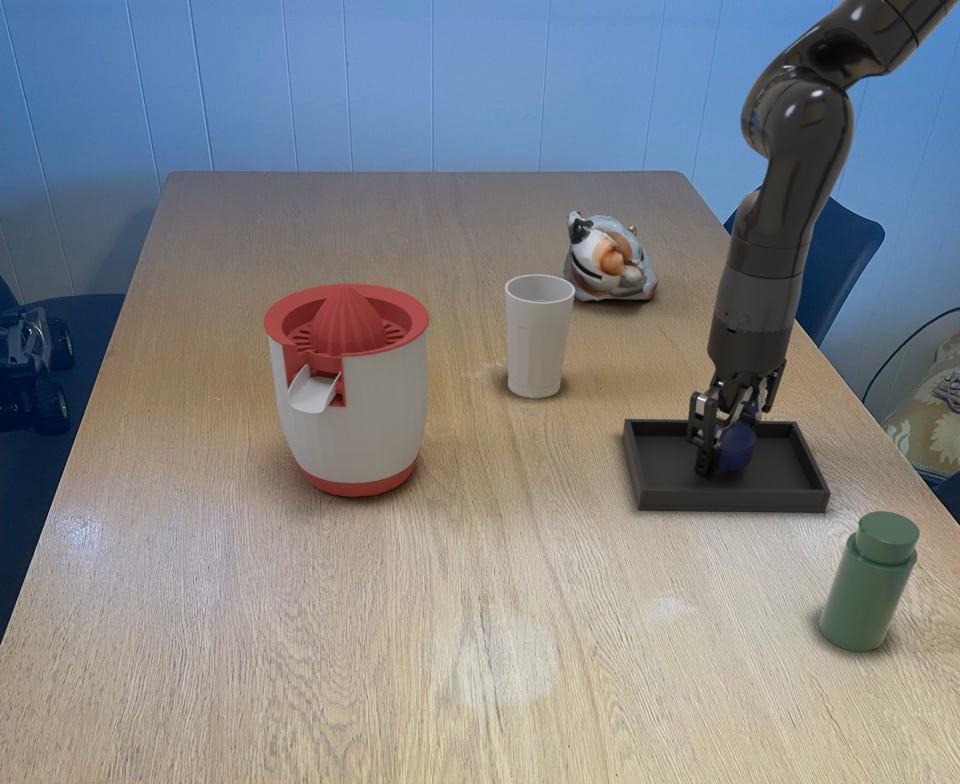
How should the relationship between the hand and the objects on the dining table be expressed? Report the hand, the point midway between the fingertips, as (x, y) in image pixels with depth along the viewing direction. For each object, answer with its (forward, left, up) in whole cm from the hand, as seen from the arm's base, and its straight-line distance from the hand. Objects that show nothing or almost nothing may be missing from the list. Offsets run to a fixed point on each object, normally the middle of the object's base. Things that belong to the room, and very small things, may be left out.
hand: (721, 463), depth 103 cm
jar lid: (0, 0, +3) cm, 3 cm away
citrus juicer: (+39, +1, -1) cm, 39 cm away
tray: (0, 0, -1) cm, 1 cm away
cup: (+19, -19, -1) cm, 27 cm away
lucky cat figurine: (+7, -46, -1) cm, 47 cm away
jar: (-7, +25, -1) cm, 26 cm away
